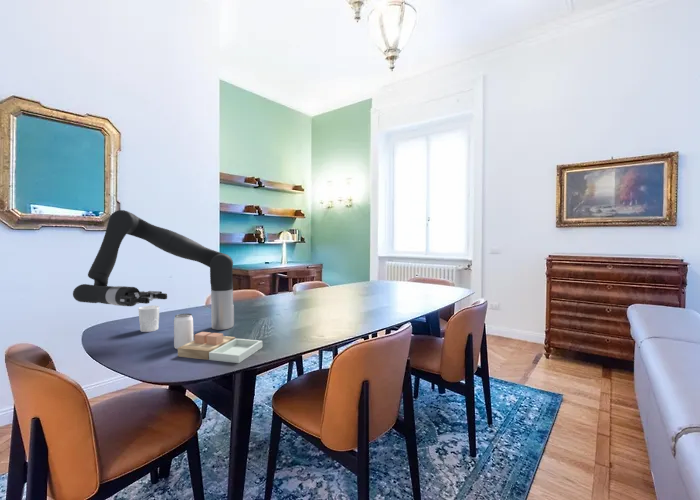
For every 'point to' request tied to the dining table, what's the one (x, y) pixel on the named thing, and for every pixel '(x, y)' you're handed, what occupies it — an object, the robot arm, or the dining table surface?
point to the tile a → (201, 337)
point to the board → (200, 349)
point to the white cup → (148, 318)
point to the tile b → (215, 338)
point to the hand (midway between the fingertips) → (157, 298)
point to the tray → (235, 350)
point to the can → (183, 329)
